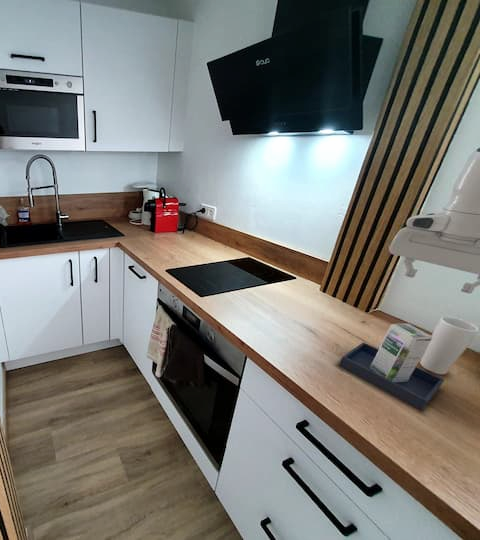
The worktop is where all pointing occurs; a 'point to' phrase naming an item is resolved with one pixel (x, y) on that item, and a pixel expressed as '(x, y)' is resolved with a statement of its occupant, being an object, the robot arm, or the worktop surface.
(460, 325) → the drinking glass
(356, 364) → the tray
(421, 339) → the syrup box
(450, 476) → the worktop surface
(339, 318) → the worktop surface
